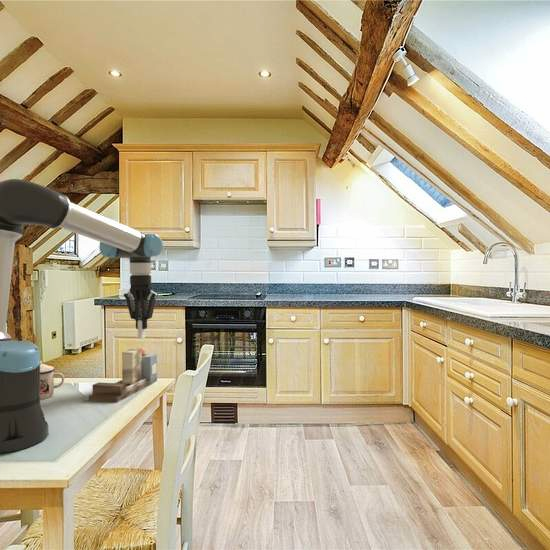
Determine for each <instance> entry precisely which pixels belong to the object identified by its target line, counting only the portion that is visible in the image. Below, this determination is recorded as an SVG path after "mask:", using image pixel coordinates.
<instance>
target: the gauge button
mask: <svg viewBox="0 0 550 550" xmlns="http://www.w3.org/2000/svg"><path fill="white" fill-rule="evenodd" d="M136 349H141V356H145V354H146V347H138V348H136Z"/></svg>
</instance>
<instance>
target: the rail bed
mask: <svg viewBox="0 0 550 550" xmlns="http://www.w3.org/2000/svg"><path fill="white" fill-rule="evenodd" d="M154 380H155V379H154ZM154 380H153V381H154ZM156 380H157V381H158V378H157V379H156ZM157 381H155V382H154V383H156V382H157ZM151 385H152V384H151V380H148V378H144V379H142V380H140V381H138V382H136V383H134V384H122V379H121V380H119V381H116V382H96V383H94V384H92V394H90V395H89V396H88V401H89V402H101V401H103V402H102V403H106V402H107V403H119V402H121V401H122V400H124V399H126V398H128V397H130V396H132V395H134V394H135V393H137V392H140V391H141V390H143V389H144V388H147V387H148V386H151Z"/></svg>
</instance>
